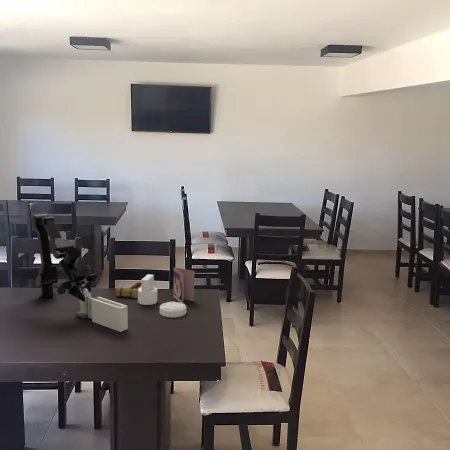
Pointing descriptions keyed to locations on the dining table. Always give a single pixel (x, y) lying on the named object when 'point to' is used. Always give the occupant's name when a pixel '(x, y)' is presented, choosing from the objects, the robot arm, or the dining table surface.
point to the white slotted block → (110, 314)
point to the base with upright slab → (147, 291)
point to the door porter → (84, 304)
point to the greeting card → (183, 284)
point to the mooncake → (173, 309)
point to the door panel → (90, 307)
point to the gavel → (128, 291)
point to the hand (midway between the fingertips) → (88, 300)
